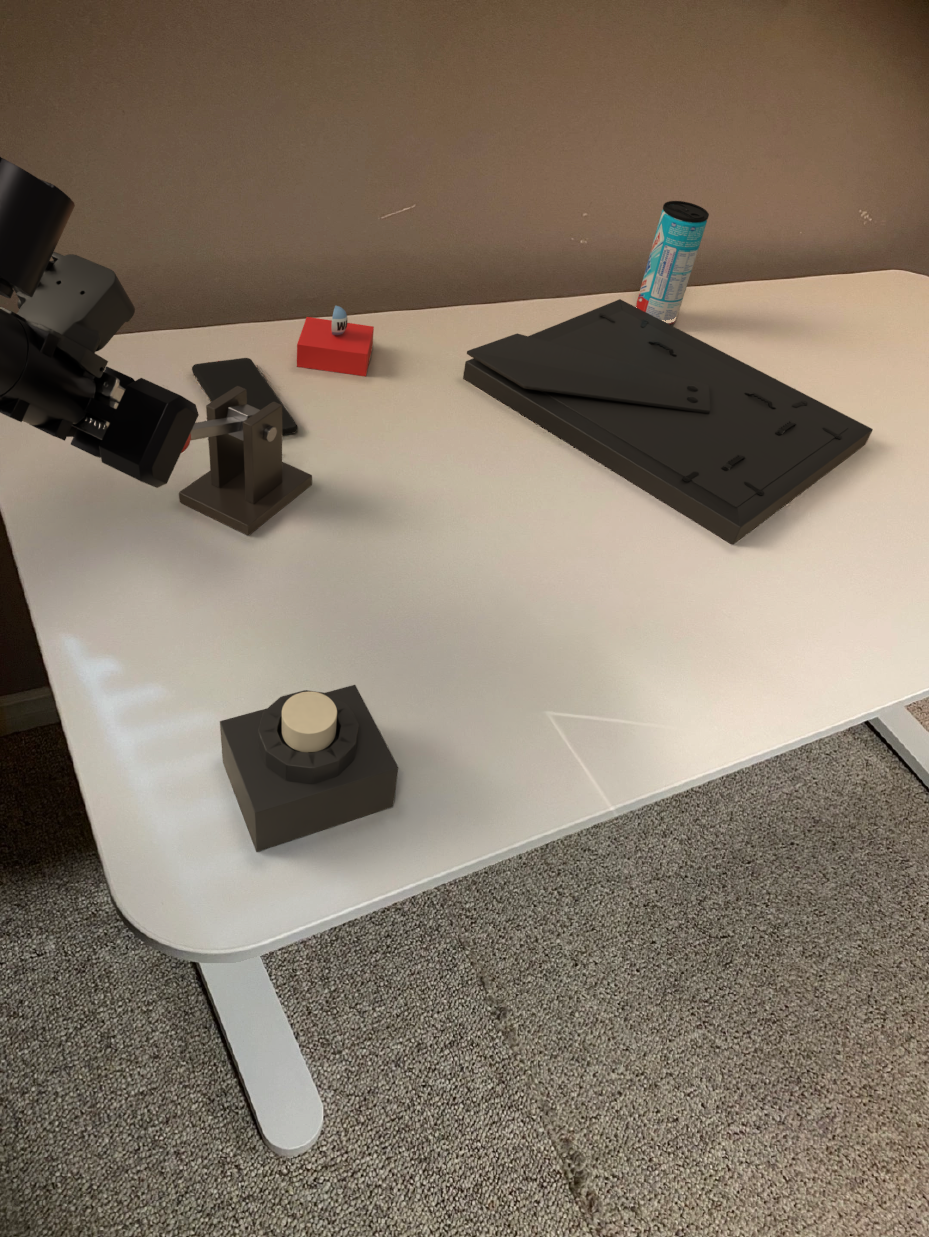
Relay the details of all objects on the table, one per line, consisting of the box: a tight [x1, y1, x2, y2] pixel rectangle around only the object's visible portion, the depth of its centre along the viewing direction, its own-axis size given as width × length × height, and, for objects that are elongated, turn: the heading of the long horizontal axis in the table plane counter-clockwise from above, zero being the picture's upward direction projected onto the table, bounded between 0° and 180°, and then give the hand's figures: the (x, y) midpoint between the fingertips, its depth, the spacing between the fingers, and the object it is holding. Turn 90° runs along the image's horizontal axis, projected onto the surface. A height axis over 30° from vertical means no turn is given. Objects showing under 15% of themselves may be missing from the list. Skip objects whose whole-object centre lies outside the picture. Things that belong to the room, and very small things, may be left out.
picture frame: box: [462, 298, 874, 545], centre depth 110 cm, size 31×4×38 cm
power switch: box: [181, 405, 260, 454], centre depth 80 cm, size 13×3×3 cm, turn 151°
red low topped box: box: [296, 305, 375, 377], centre depth 108 cm, size 8×7×6 cm
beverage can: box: [635, 200, 710, 326], centre depth 124 cm, size 6×6×15 cm
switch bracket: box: [178, 386, 313, 536], centre depth 86 cm, size 10×8×10 cm
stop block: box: [219, 684, 399, 853], centre depth 65 cm, size 10×8×6 cm
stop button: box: [282, 691, 337, 753], centre depth 62 cm, size 4×4×2 cm
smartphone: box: [191, 357, 299, 436], centre depth 100 cm, size 7×1×15 cm
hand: (137, 430), depth 72 cm, fingers closed
